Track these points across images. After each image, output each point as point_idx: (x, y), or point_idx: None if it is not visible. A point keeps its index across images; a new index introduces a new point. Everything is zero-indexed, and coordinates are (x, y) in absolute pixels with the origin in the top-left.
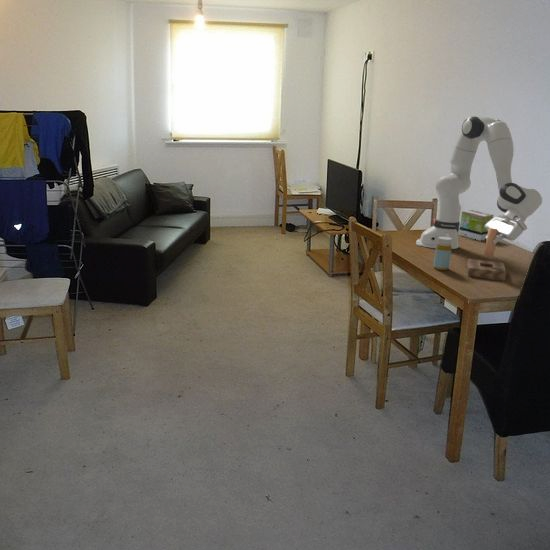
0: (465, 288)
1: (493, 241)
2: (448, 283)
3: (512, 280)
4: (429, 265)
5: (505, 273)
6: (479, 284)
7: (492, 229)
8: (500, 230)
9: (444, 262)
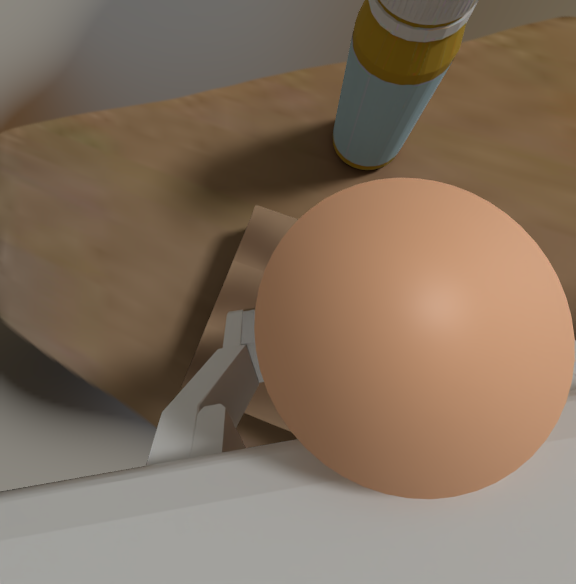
0: (104, 158)
1: (233, 311)
2: (164, 113)
3: None
4: None
5: (184, 382)
6: (150, 234)
7: (298, 252)
8: (240, 531)
9: (338, 110)
